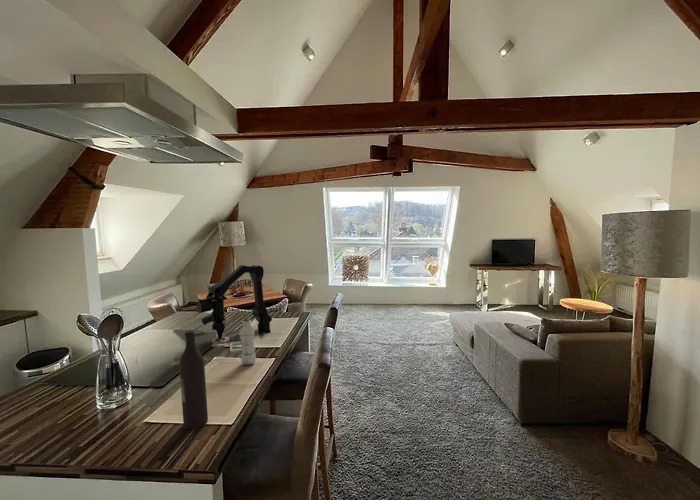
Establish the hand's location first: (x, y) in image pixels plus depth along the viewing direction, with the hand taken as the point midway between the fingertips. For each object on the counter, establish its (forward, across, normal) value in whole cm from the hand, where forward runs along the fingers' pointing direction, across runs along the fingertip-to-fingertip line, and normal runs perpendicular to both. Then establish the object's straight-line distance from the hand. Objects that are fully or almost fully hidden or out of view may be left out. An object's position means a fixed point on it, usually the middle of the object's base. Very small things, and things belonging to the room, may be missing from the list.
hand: (220, 337), depth 181 cm
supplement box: (+4, -27, -6) cm, 28 cm away
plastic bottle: (+4, +33, +13) cm, 36 cm away
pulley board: (+4, 0, +5) cm, 6 cm away
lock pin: (+2, 0, 0) cm, 2 cm away
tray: (+4, +13, +11) cm, 17 cm away
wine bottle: (+4, +76, -5) cm, 76 cm away
